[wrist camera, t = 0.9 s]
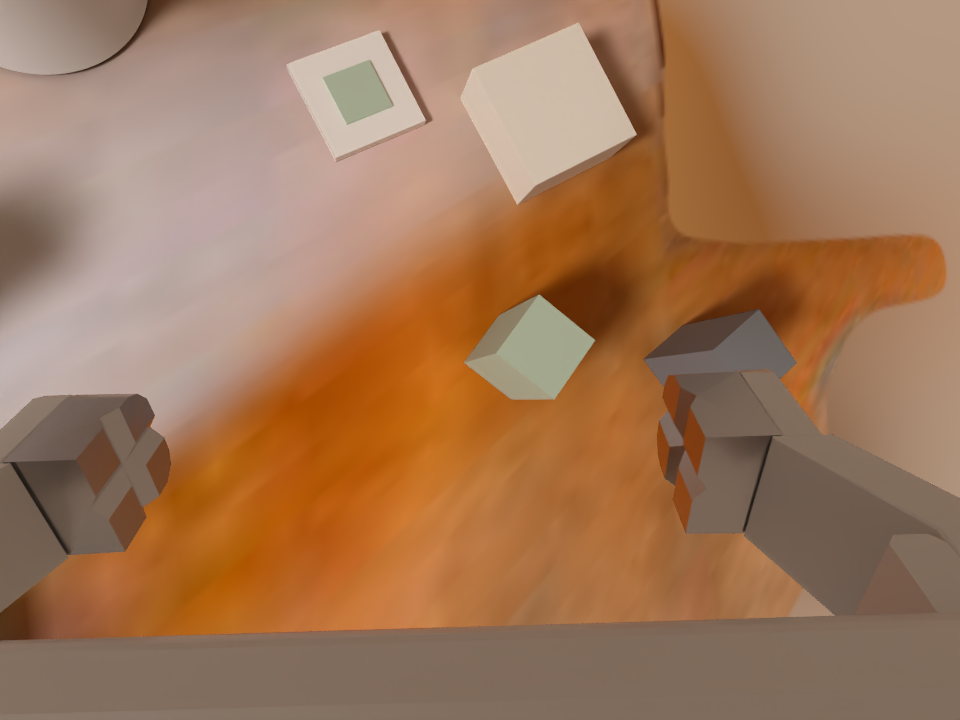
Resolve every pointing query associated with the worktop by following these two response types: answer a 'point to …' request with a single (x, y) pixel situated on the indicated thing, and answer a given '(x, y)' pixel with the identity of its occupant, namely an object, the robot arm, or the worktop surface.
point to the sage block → (530, 351)
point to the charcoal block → (721, 348)
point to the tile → (356, 95)
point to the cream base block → (546, 112)
